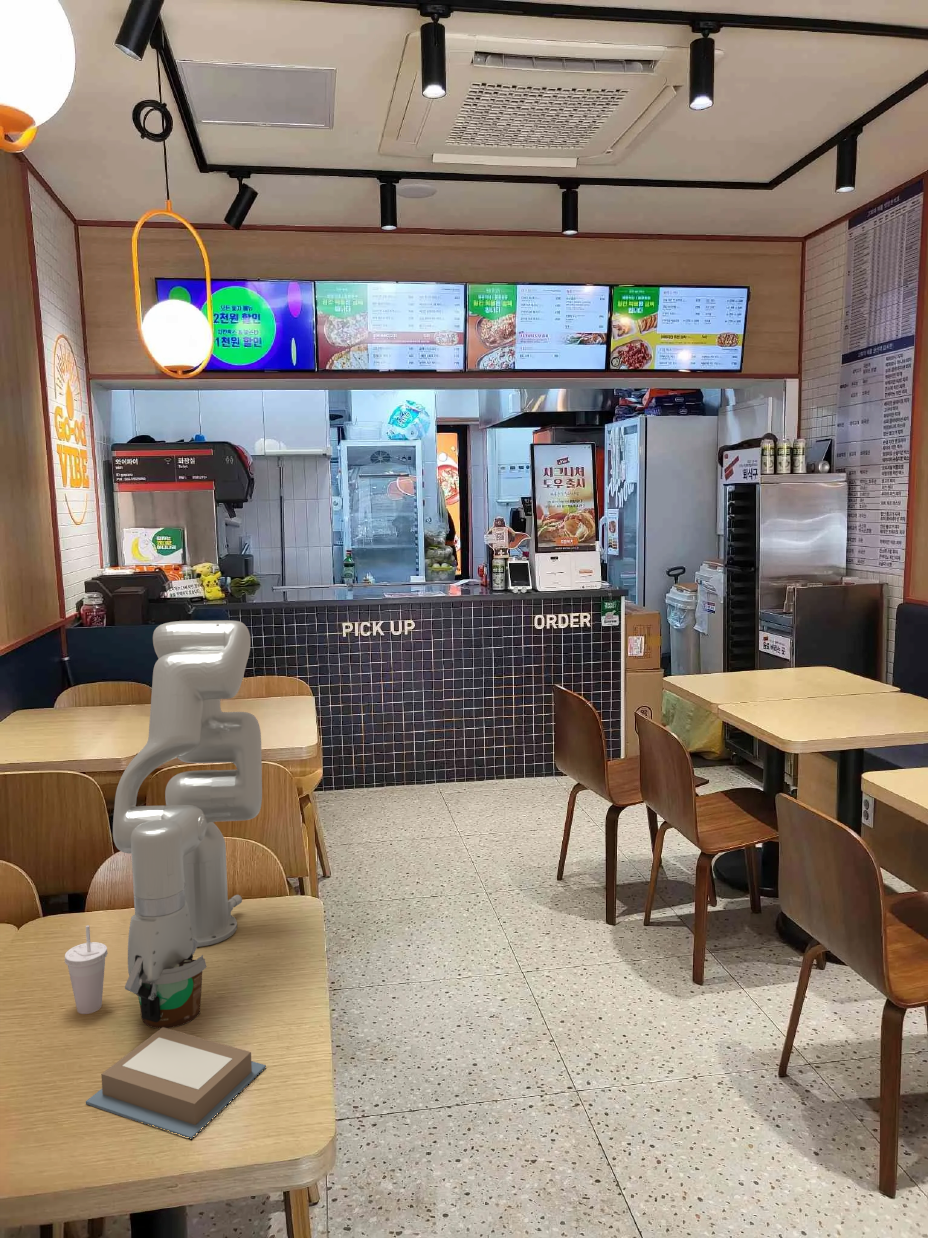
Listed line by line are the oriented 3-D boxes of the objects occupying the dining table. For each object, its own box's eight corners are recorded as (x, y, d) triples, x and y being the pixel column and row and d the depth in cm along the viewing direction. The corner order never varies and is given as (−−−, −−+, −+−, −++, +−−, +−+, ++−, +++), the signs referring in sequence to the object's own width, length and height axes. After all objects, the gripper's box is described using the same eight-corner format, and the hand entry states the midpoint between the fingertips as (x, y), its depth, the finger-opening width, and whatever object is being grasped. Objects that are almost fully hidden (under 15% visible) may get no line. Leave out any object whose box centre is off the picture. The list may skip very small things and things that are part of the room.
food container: (116, 1029, 137) (113, 968, 136) (137, 1007, 143) (134, 949, 142) (190, 1036, 135) (187, 975, 134) (208, 1014, 141) (206, 955, 140)
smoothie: (95, 1021, 140) (90, 937, 138) (59, 1016, 141) (53, 933, 139) (118, 999, 146) (113, 918, 144) (84, 995, 147) (79, 915, 145)
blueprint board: (167, 1039, 134) (166, 1018, 134) (266, 1068, 127) (265, 1045, 127) (85, 1104, 120) (84, 1080, 119) (191, 1140, 113) (190, 1115, 112)
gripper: (178, 875, 147) (183, 978, 149) (99, 920, 131) (106, 1033, 133) (215, 883, 144) (219, 987, 146) (138, 929, 128) (144, 1045, 130)
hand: (165, 1008), depth 140 cm, fingers closed on food container, 5 cm apart
